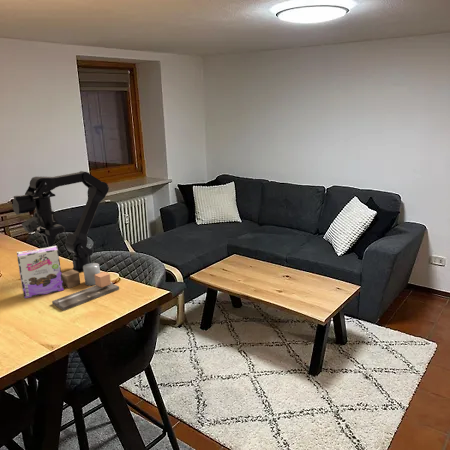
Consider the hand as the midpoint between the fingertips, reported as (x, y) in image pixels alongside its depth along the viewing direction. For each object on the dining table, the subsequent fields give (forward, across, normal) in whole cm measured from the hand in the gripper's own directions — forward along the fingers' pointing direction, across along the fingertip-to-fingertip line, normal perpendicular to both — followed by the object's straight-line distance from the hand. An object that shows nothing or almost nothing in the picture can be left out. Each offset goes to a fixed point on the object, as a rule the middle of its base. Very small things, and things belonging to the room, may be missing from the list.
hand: (49, 247), depth 167 cm
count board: (+13, +27, -1) cm, 30 cm away
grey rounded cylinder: (+13, +17, +8) cm, 23 cm away
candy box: (+13, +10, -9) cm, 19 cm away
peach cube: (+11, +27, +6) cm, 30 cm away
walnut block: (+13, +12, +1) cm, 18 cm away
